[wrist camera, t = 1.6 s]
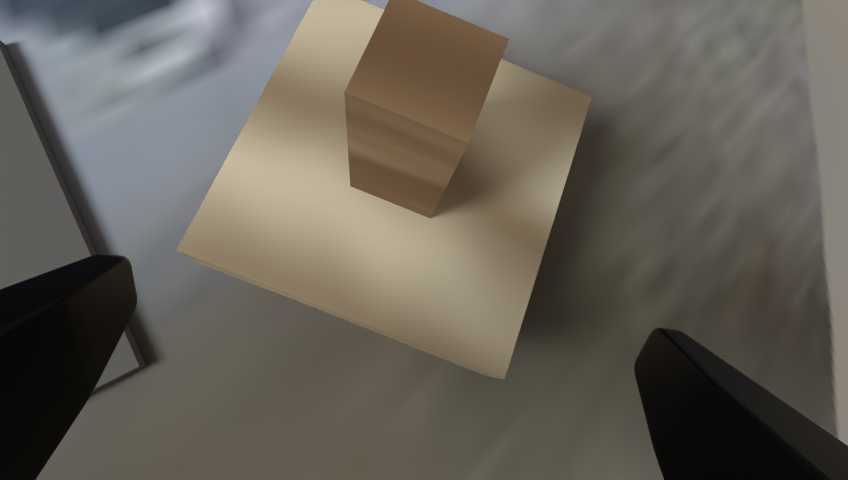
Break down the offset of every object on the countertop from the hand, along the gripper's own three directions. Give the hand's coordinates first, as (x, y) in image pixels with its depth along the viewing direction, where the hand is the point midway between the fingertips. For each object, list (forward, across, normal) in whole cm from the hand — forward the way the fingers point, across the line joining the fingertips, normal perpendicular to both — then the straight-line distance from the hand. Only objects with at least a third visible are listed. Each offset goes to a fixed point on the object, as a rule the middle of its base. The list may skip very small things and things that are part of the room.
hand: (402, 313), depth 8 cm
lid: (+10, 0, +2) cm, 10 cm away
